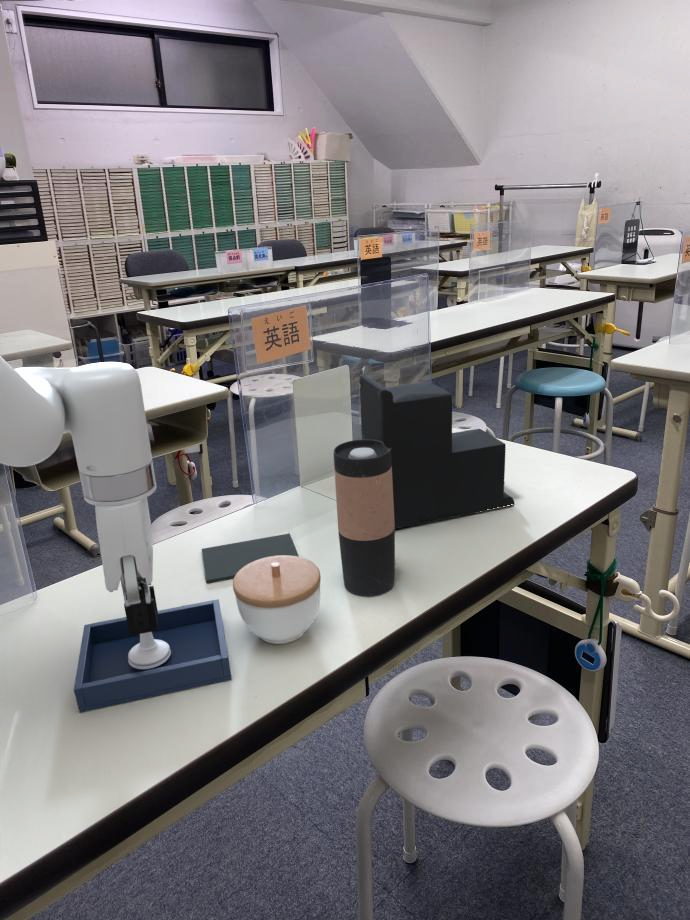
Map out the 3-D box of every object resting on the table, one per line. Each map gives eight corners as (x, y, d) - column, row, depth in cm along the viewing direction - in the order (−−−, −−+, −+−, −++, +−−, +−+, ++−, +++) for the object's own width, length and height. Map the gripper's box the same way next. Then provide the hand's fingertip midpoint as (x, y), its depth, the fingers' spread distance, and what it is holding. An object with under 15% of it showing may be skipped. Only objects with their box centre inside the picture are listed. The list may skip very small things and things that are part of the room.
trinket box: (291, 596, 94) (285, 535, 90) (342, 629, 86) (337, 563, 82) (223, 629, 87) (214, 565, 84) (271, 668, 80) (263, 599, 76)
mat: (206, 583, 98) (206, 580, 98) (201, 551, 107) (201, 548, 107) (302, 565, 101) (301, 562, 101) (289, 536, 110) (289, 533, 110)
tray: (79, 713, 74) (73, 690, 73) (89, 645, 86) (84, 624, 85) (231, 679, 78) (228, 657, 77) (221, 619, 89) (218, 598, 88)
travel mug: (333, 593, 94) (323, 457, 86) (353, 565, 100) (345, 437, 93) (386, 601, 91) (380, 462, 84) (403, 572, 97) (399, 441, 90)
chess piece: (158, 638, 85) (146, 567, 81) (178, 656, 81) (167, 582, 78) (121, 656, 82) (107, 583, 78) (140, 675, 78) (126, 600, 75)
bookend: (484, 483, 124) (486, 356, 116) (515, 506, 115) (520, 370, 106) (363, 507, 118) (355, 374, 110) (385, 533, 109) (379, 391, 100)
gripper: (88, 459, 80) (114, 595, 86) (74, 515, 65) (106, 673, 72) (154, 450, 81) (175, 585, 88) (154, 504, 67) (179, 659, 73)
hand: (144, 623), depth 80 cm, fingers closed on chess piece
